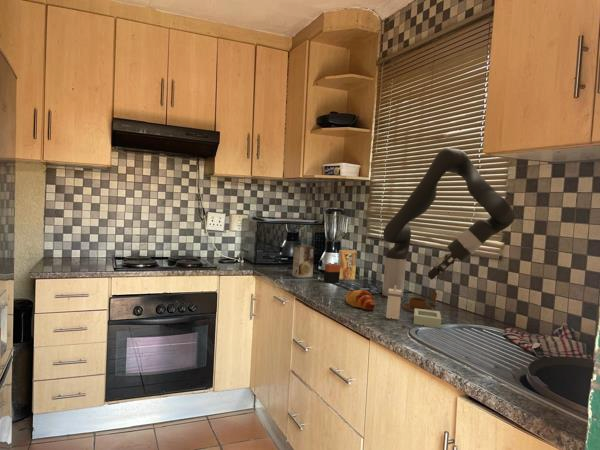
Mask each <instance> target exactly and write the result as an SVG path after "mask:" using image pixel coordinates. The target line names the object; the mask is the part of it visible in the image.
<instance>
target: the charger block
mask: <svg viewBox="0 0 600 450" xmlns="http://www.w3.org/2000/svg"><path fill="white" fill-rule="evenodd" d="M396 287H397V286H396V285H395V286H394V289H390V288H389V291H388V296H387V305H386V316H385V317H386V319H391V318H392V320H400V311H401V300H402V299H401V298H402V297H401V291H402V290H398V289H396Z"/></svg>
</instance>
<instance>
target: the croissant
mask: <svg viewBox="0 0 600 450" xmlns="http://www.w3.org/2000/svg"><path fill="white" fill-rule="evenodd" d="M345 300H346V303H347V305H350V306H351V307H354V308H359V309H362V310H367V311H370V310H374V309H375V307H376V303H375V301H374V297H373V296H372V294H371V292H369V291H367V290H365V289H358V290H357V289H356V290H350V291H349V292H347V294H346V296H345Z"/></svg>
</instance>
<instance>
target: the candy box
mask: <svg viewBox="0 0 600 450" xmlns="http://www.w3.org/2000/svg"><path fill="white" fill-rule="evenodd" d="M357 256H358V251H357V250H353V249H350V250H349V249H339V251H338V258H337V259H338V261H337V263H338V265H340V277H339V280H353V281H354V280H355V278H356V267H357Z"/></svg>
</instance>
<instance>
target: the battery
mask: <svg viewBox="0 0 600 450" xmlns="http://www.w3.org/2000/svg"><path fill="white" fill-rule="evenodd" d="M323 276H324V277H323V278H324V279H323V282H325V283H327V284H339V283H340V279H339V277H340V265H338V262H333V263H332V262H328V263H325V264H324V274H323Z"/></svg>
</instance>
